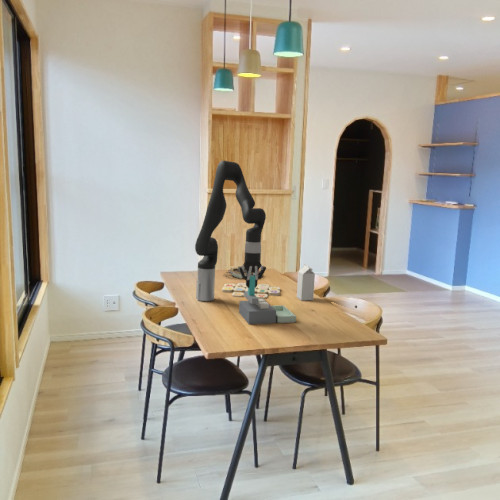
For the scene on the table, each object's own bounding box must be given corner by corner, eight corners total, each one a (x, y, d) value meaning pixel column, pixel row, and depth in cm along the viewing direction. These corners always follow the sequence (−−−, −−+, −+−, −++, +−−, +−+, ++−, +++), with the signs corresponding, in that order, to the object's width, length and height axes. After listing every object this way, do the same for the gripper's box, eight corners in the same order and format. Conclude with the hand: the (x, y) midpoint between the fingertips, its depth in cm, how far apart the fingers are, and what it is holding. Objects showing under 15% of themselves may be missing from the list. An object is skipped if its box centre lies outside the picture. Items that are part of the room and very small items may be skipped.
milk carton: (301, 300, 269) (303, 266, 266) (296, 297, 276) (298, 264, 273) (313, 300, 271) (315, 266, 268) (308, 297, 278) (310, 264, 274)
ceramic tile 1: (260, 308, 229) (260, 304, 229) (257, 306, 233) (258, 302, 233) (268, 308, 230) (268, 304, 230) (266, 305, 234) (266, 301, 234)
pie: (273, 278, 324) (273, 270, 323) (243, 284, 305) (243, 276, 304) (243, 270, 344) (244, 263, 343) (214, 275, 325) (214, 268, 324)
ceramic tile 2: (256, 305, 235) (257, 300, 235) (254, 302, 239) (254, 298, 238) (264, 304, 236) (265, 300, 236) (262, 302, 240) (262, 298, 240)
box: (277, 322, 228) (278, 316, 228) (266, 311, 246) (266, 305, 245) (295, 322, 231) (296, 316, 230) (283, 311, 248) (283, 305, 248)
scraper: (251, 303, 226) (252, 279, 224) (244, 296, 239) (245, 273, 237) (258, 303, 226) (259, 279, 224) (250, 295, 240) (251, 272, 238)
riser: (248, 324, 225) (249, 311, 224) (239, 312, 242) (239, 300, 241) (275, 323, 228) (276, 310, 227) (264, 311, 245) (264, 300, 244)
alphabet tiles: (280, 286, 301) (281, 283, 301) (278, 300, 269) (279, 296, 269) (227, 283, 304) (227, 279, 304) (218, 296, 272) (218, 292, 272)
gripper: (264, 249, 234) (263, 285, 237) (236, 249, 231) (235, 285, 233) (269, 252, 227) (267, 288, 230) (240, 252, 223) (239, 289, 226)
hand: (251, 287), depth 232 cm, fingers closed on scraper, 2 cm apart
